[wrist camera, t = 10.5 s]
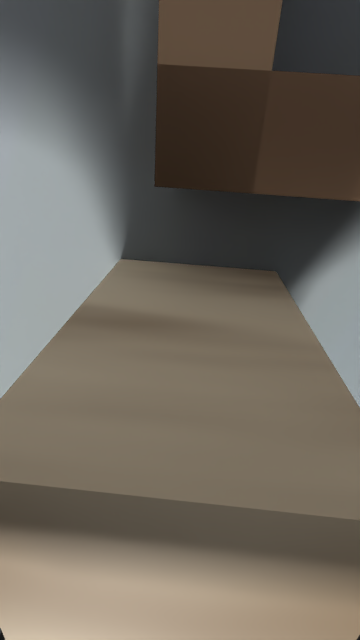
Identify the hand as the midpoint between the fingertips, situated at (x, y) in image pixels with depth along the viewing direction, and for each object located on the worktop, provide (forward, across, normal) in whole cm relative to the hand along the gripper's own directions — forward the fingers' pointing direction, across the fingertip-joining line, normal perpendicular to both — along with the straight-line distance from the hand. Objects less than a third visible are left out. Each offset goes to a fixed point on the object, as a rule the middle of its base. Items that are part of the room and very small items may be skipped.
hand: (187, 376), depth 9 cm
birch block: (+3, 0, 0) cm, 3 cm away
